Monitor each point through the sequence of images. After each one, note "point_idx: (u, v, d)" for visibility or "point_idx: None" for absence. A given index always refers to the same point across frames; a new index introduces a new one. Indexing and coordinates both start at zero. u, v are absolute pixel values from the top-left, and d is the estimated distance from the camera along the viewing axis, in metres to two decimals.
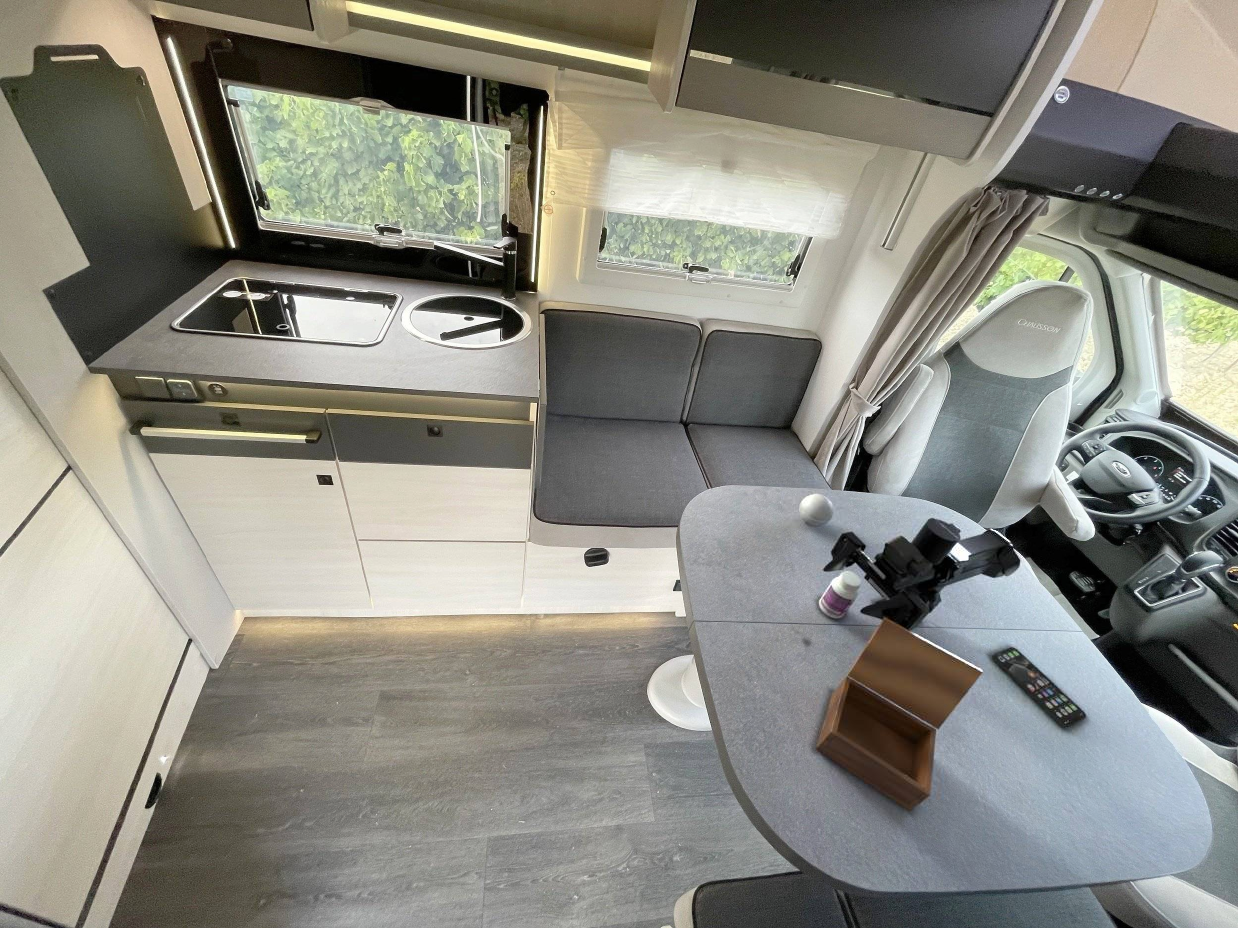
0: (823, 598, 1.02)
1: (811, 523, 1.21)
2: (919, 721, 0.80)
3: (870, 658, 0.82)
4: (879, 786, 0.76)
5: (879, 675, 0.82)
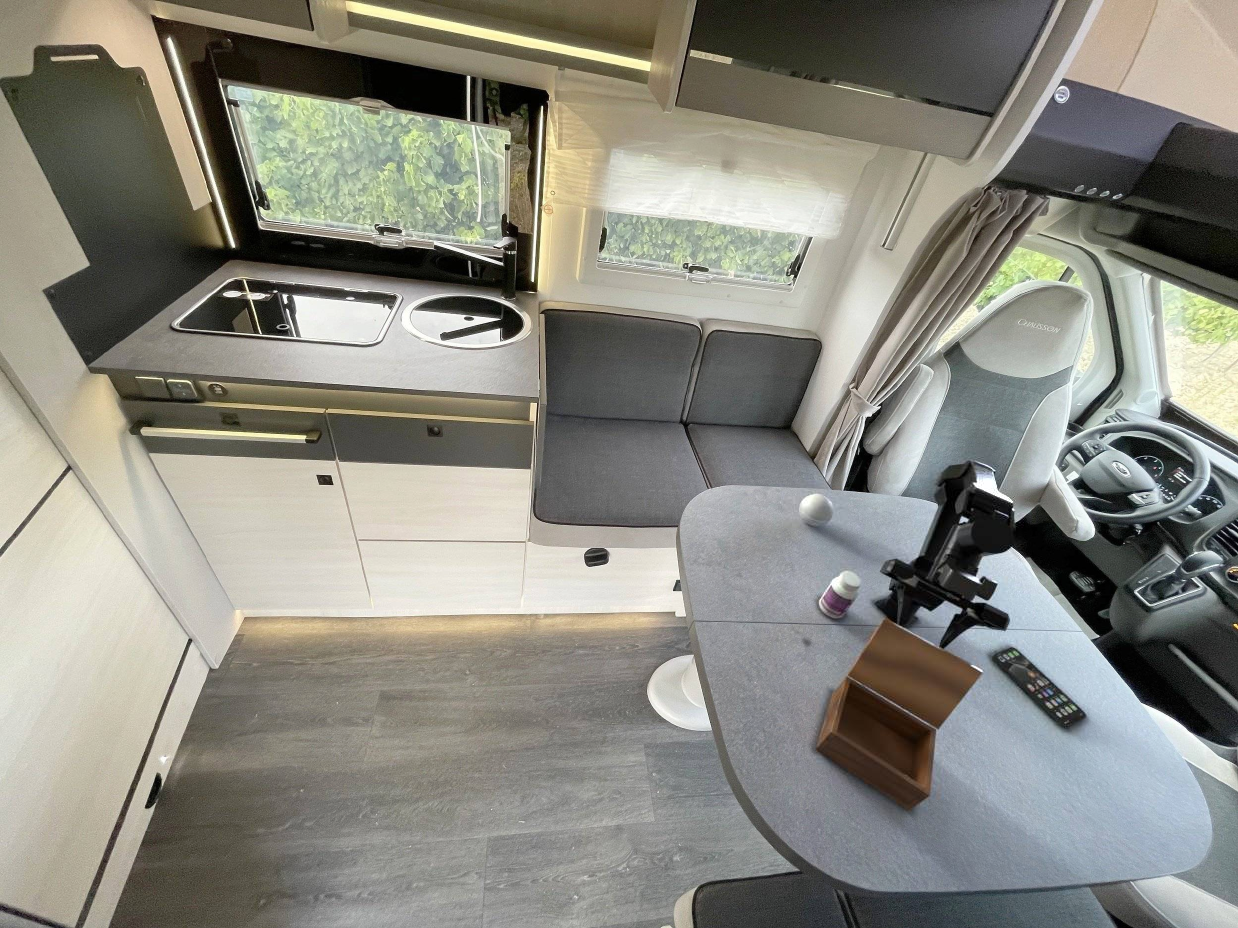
0: (823, 598, 1.02)
1: (811, 523, 1.21)
2: (919, 721, 0.80)
3: (870, 658, 0.82)
4: (879, 786, 0.76)
5: (879, 675, 0.82)
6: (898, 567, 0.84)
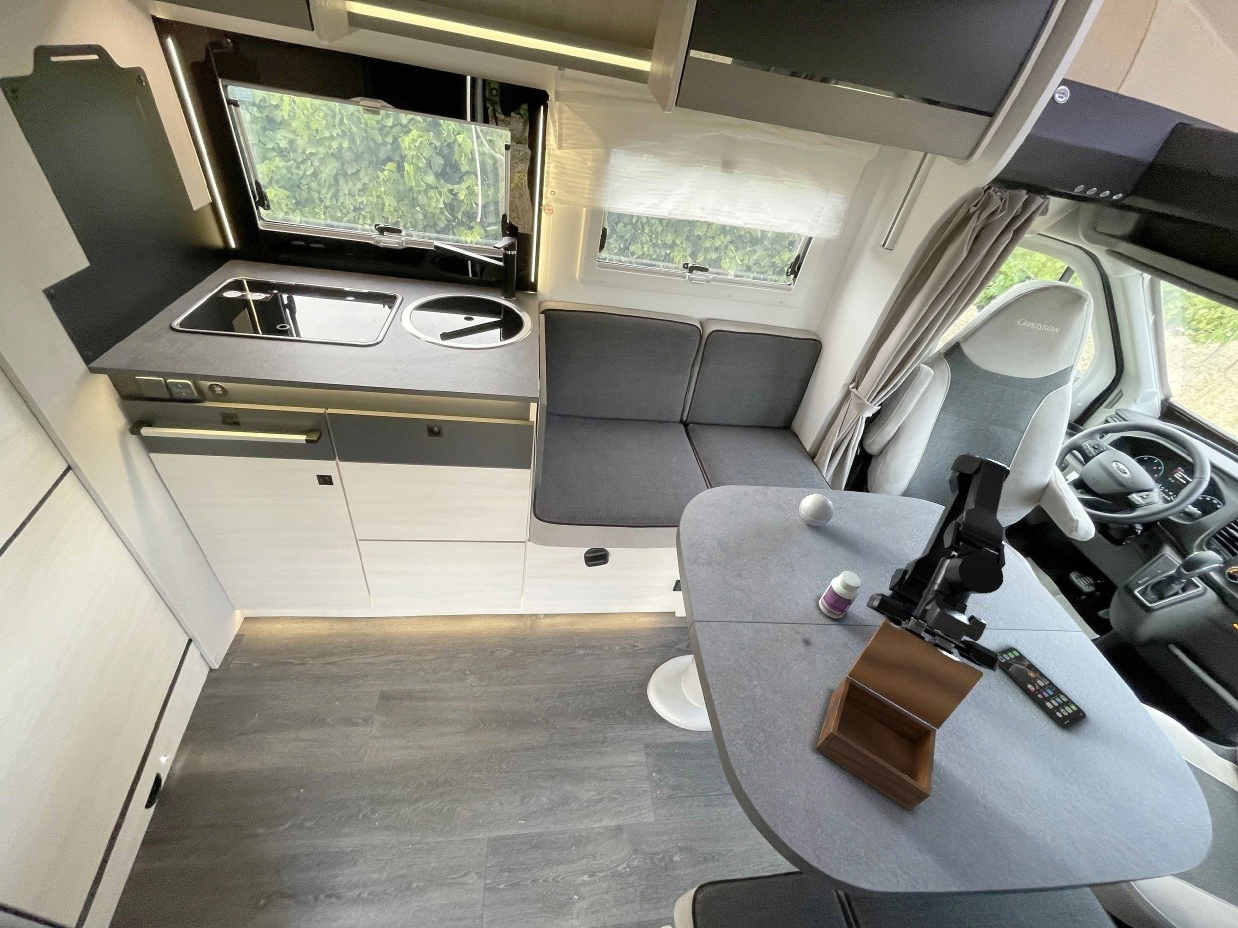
0: (823, 598, 1.02)
1: (811, 523, 1.21)
2: (919, 721, 0.80)
3: (870, 659, 0.82)
4: (879, 786, 0.76)
5: (879, 676, 0.81)
6: (884, 603, 0.81)
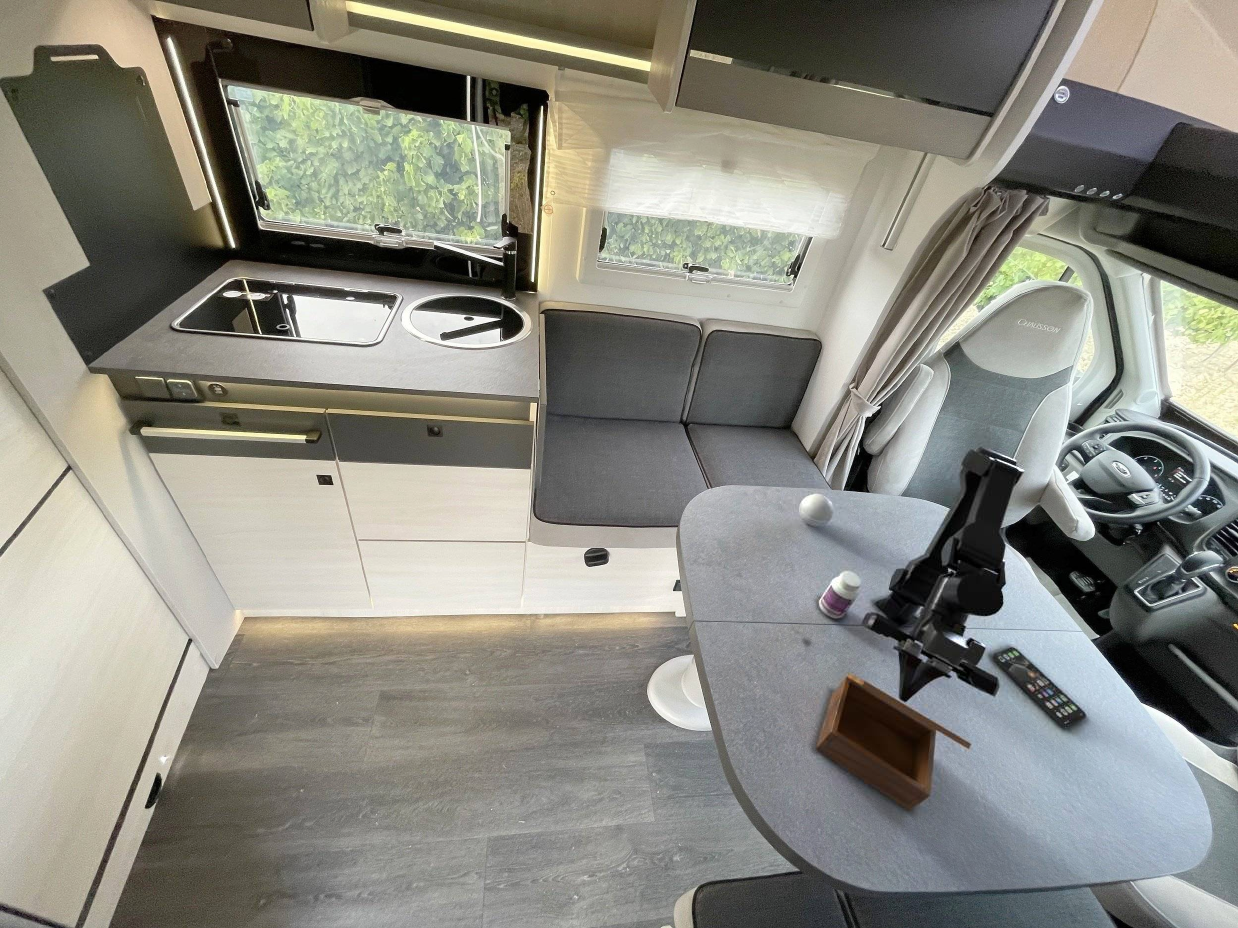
0: (823, 598, 1.02)
1: (811, 523, 1.21)
2: (919, 721, 0.80)
3: None
4: (879, 786, 0.76)
5: None
6: (879, 623, 0.78)
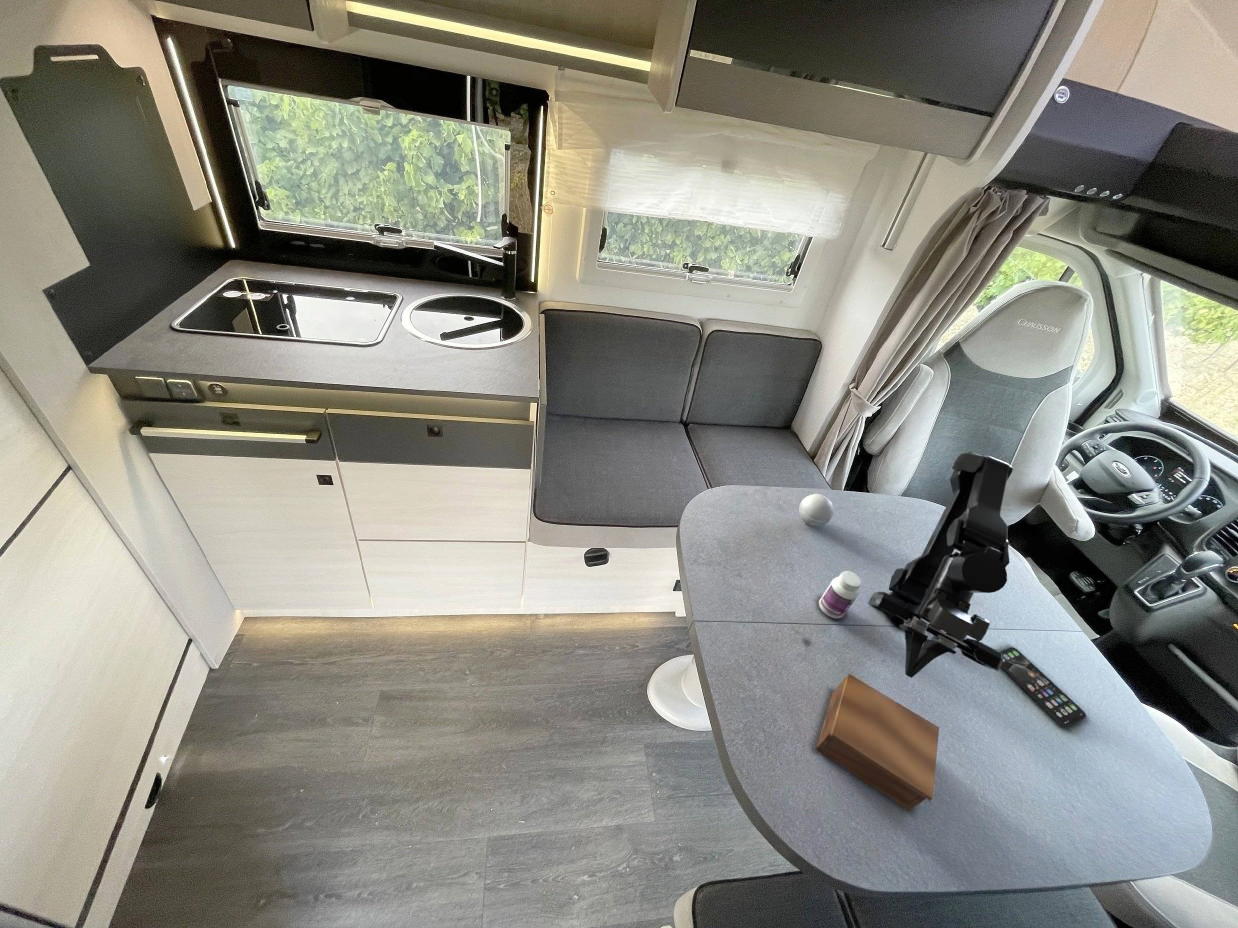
0: (823, 598, 1.02)
1: (811, 523, 1.21)
2: None
3: None
4: (879, 786, 0.76)
5: None
6: (886, 602, 0.80)
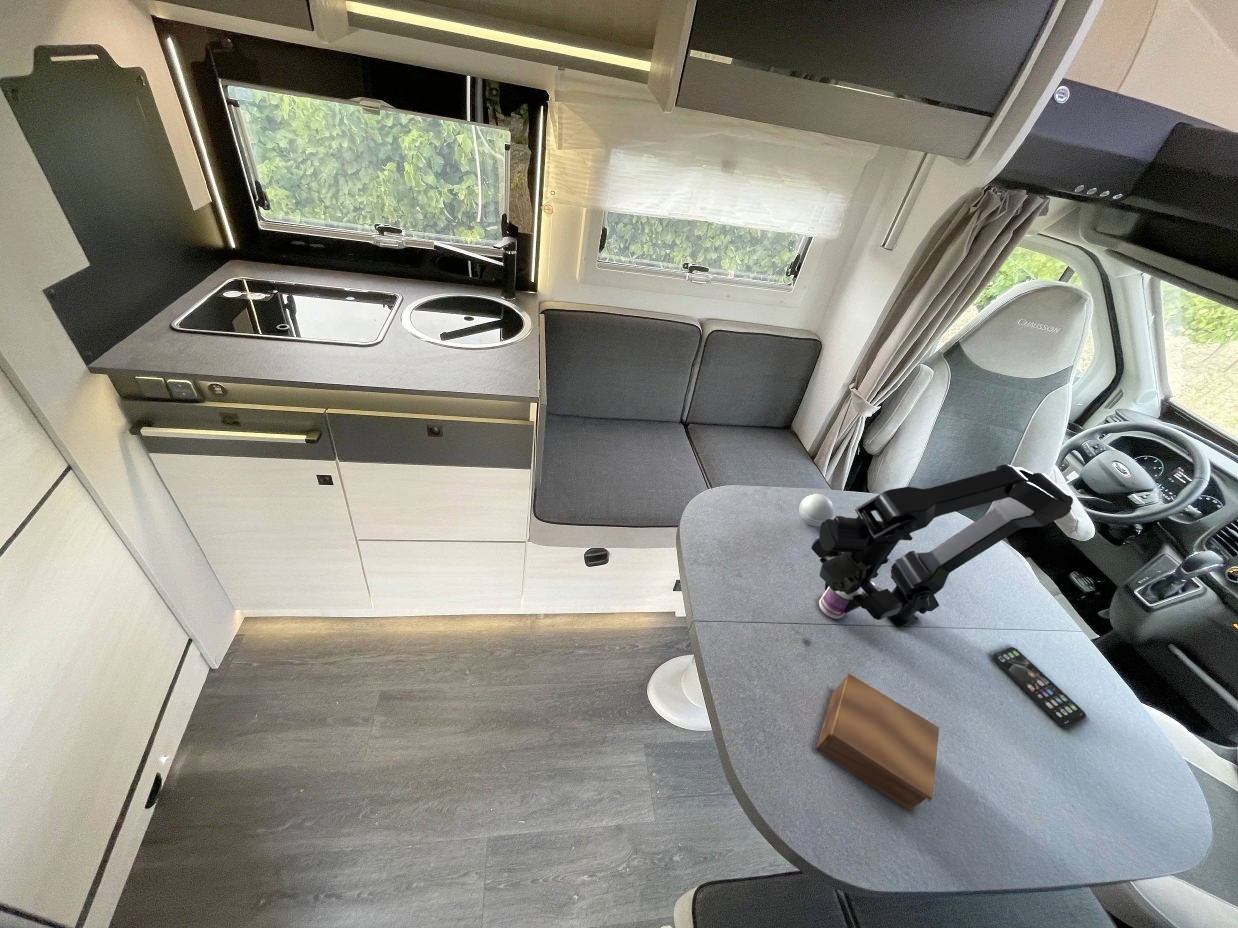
0: (823, 598, 1.02)
1: (811, 523, 1.21)
2: None
3: None
4: (879, 786, 0.76)
5: None
6: (816, 546, 1.01)
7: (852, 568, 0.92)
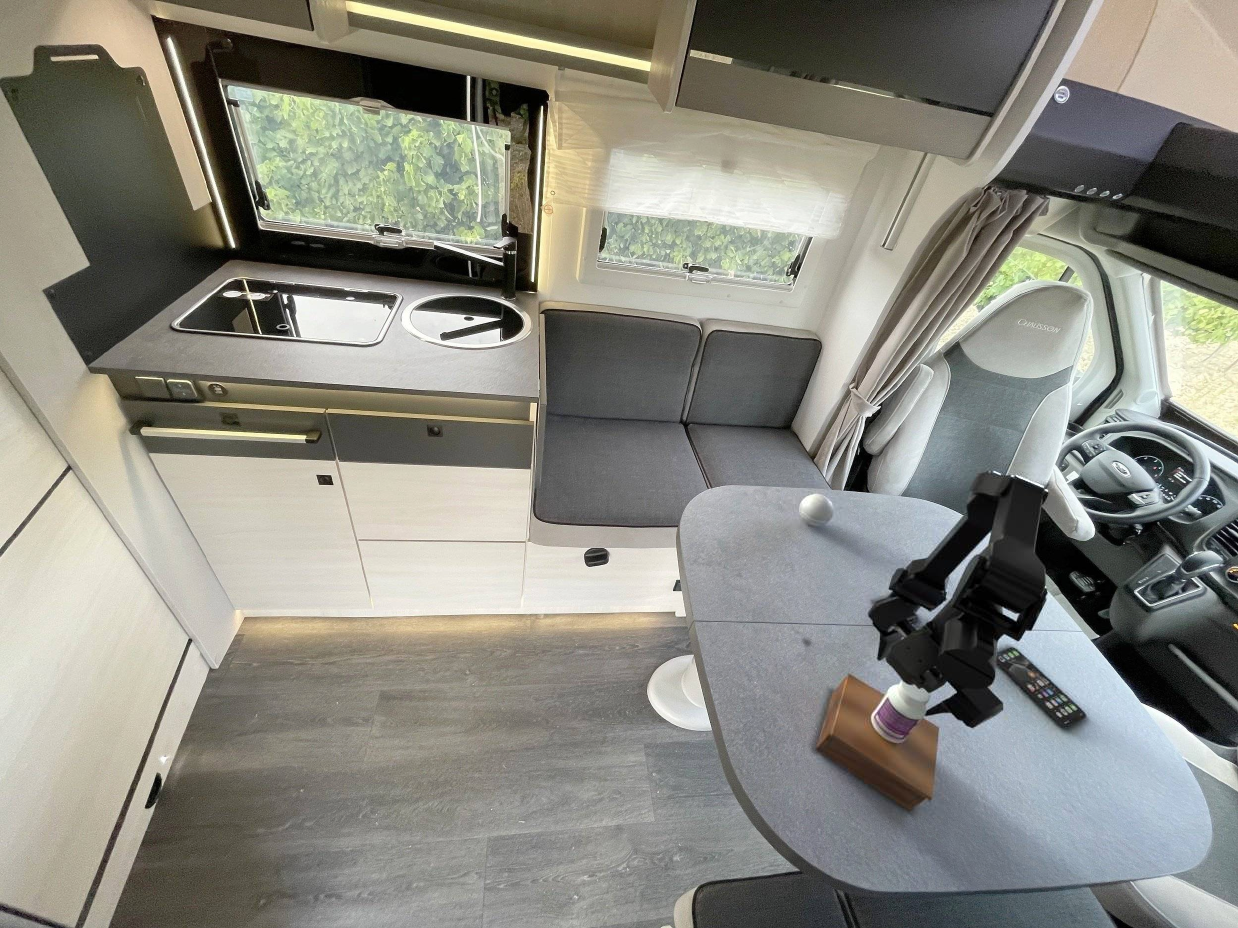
0: (877, 714, 0.76)
1: (811, 523, 1.21)
2: None
3: None
4: (879, 786, 0.76)
5: None
6: (875, 615, 0.76)
7: (934, 654, 0.67)
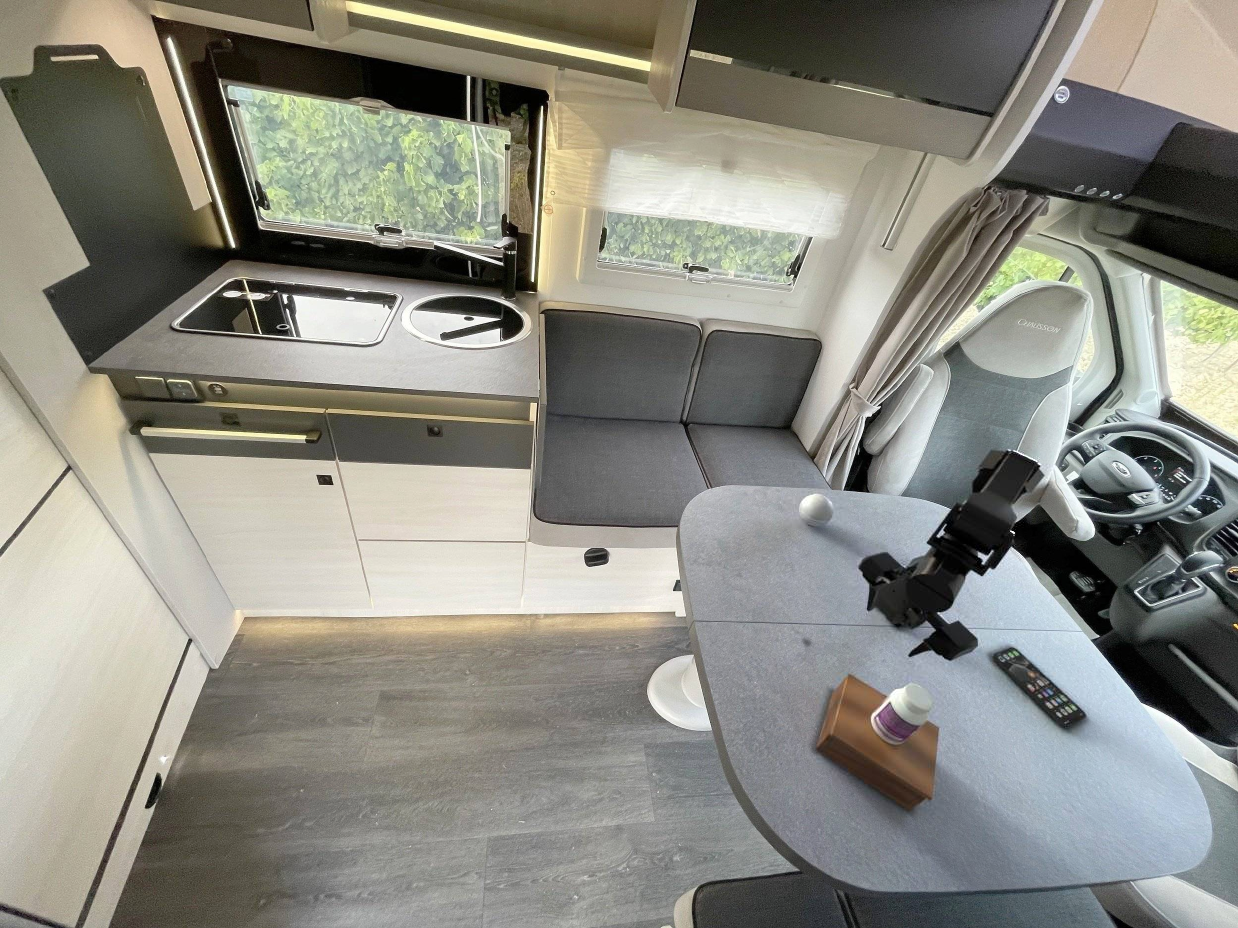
0: (878, 716, 0.76)
1: (811, 523, 1.21)
2: None
3: None
4: (879, 786, 0.76)
5: None
6: (865, 567, 0.84)
7: None
